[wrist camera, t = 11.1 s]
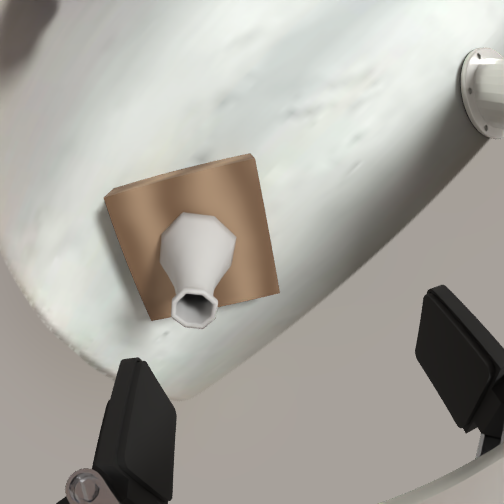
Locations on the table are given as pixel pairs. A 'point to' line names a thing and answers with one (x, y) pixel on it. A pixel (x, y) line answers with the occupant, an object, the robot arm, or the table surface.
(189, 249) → the flask
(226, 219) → the flat wooden block
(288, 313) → the table surface
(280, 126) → the table surface
